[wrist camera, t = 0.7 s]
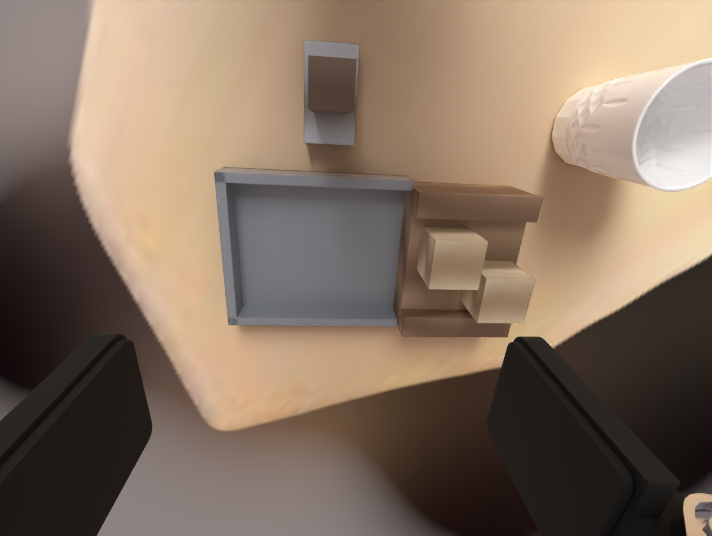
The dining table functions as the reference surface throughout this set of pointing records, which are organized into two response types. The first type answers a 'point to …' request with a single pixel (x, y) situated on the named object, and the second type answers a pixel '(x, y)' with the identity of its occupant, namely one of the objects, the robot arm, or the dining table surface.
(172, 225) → the dining table surface
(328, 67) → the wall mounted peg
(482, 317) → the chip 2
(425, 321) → the slot block
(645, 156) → the white cup
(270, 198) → the tray
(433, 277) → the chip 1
